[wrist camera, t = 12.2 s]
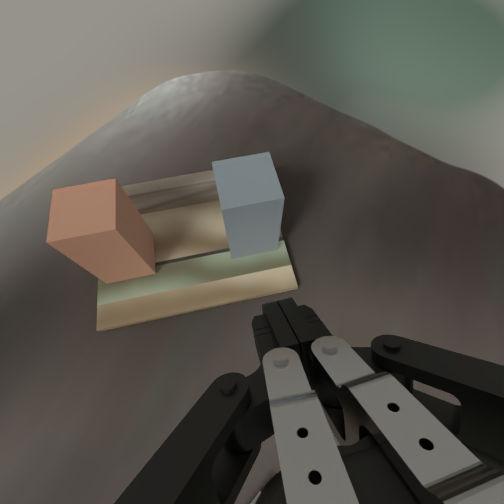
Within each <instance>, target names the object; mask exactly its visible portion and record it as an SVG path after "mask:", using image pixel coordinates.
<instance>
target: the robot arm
mask: <svg viewBox="0 0 504 504" xmlns="http://www.w3.org/2000/svg"><path fill="white" fill-rule="evenodd" d="M262 310H263V315H259V316H254V318H253V321H252V328H253V333H254V338H255V344H256V349H257V353H258V356H259V360H260V363H261V365H260V367H259V368H258V369H257V370H256V371H255V372H254V373H253V374H251V375H249V376H248V377H245V376H244V375H242V374H240V373H227V374H224V375H222V376H220V377H218V378H217V379H216V380H215V381H214V382H213V383H212V384H211V385H210V386H209V388H208V389H207V390H206V391H205V393H204V394H203V395H202V396H201V398H200V399H199V400H198V401H197V402H196V404H195V405H194V406H193V407H192V409H191V410H190V411H189V412H188V413H187V415H186V416H185V417H184V418H183V420H182V421H181V422H180V423H179V424H178V426H177V427H176V428H175V429H174V431H173V432H172V433H171V434H170V436H169V437H168V438H167V439H166V440H165V442H164V443H163V444H162V445H161V447H160V448H159V449H158V450H157V451H156V453H155V454H154V455H153V456H152V458H151V459H150V460H149V461H148V463H147V464H146V465H145V466H144V467H143V469H142V470H141V471H140V472H139V474H138V475H137V476H136V477H135V478H134V480H133V481H132V482H131V483H130V485H129V486H128V487H127V488H126V490H125V491H124V492H123V493H122V494H121V496H120V497H119V498H118V499H117V501H116V502H115V503H114V504H234V503H235V501H236V499H237V497H238V494H239V492H240V490H241V488H242V486H243V484H244V482H245V480H246V478H247V476H248V474H249V472H250V470H251V468H252V466H253V464H254V462H255V460H256V458H257V456H258V454H259V451H260V448H261V443H262V442H263V441H265V440H266V439H267V438H269V437H270V436H272V435H273V434H275V439H276V444H277V450H278V456H279V462H280V468H281V471H280V472H279V473H277V474H276V475H275V476H274V477H273V478H272V479H271V480H270V481H269V482H268V483H267V484H266V486H265V487H264V489H263V490H262V492H261V493H260V495H259V497H258V499H257V501H256V503H255V504H504V366H502V365H499V364H495V363H492V362H488V361H484V360H481V359H477V358H474V357H470V356H467V355H463V354H460V353H456V352H452V351H449V350H445V349H442V348H438V347H435V346H431V345H428V344H424V343H421V342H417V341H413V340H410V339H406V338H403V337H399V336H395V335H381V336H378V337H376V338H374V339H373V340H372V342H371V347H350V346H349V345H348V344H347V343H346V342H345V341H344V340H342V339H340V338H338V337H334V336H332V334H331V333H330V332H329V330H328V329H327V328H326V326H325V325H324V324H323V322H322V321H321V320H320V318H319V317H318V316H317V315H316V313H315V312H314V311H313V309H311V308H309V307H308V306H306V305H301V306H297V305H296V303H295V302H294V300H293V299H292V298H287V299H283V300H278V301H274V302H270V303H266V304H262ZM413 380H415V381H418V382H421V383H423V384H426V385H429V386H432V387H434V388H437V389H440V390H442V391H445V392H448V393H450V394H452V395H454V396H455V397H456V398H457V399H458V400H459V401H460V403H461V405H462V406H458V405H454V404H451V403H448V402H446V401H443V400H441V399H438V398H436V397H433V396H430V395H428V394H425V393H423V392H420V391H418V390H415V389H413ZM312 390H315V392H316V393H315V392H314V393H312ZM328 424H329V425H328ZM329 426H330V427H329ZM330 428H331V429H332V431H333V433H334V435H335V436H336V438H337V440H338V441H339V443H340V445H341V446H337V445H336V443H335V440H334V437H333V435H332V432H331V430H330Z"/></svg>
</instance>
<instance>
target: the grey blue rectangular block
mask: <svg viewBox="0 0 504 504" xmlns="http://www.w3.org/2000/svg"><path fill="white" fill-rule="evenodd" d="M212 166H213V171H214V176H215V181H216V186H217V191H218V196H219V201H220V206H221V210H222V215H223V220H224V225H225V230H226V234H227V239H228V244H229V249H230V254H231V258H232V259H234V258H238V257H243V256H248V255H253V254H258V253H263V252H268V251H273V250H277V249H278V242H279V234H280V227H281V220H282V213H283V206H284V199H285V198H284V195H283V192H282V189H281V186H280V183H279V180H278V177H277V174H276V171H275V168H274V165H273V162H272V159H271V156H270V153H269V152H265V153H259V154H254V155H248V156H243V157H237V158H231V159H226V160H220V161H214V162H212Z"/></svg>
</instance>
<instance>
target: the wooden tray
mask: <svg viewBox="0 0 504 504" xmlns="http://www.w3.org/2000/svg"><path fill="white" fill-rule="evenodd" d="M121 187H122V188H123V190H124V191H125V193H126V194H127V196H128V197H129V199H130V200H131V202H132V203H133V204H134V206H135V207H136V209H137V210H138V212H139V213H140V215H141V216H142V218H143V219H144V221H145V222H146V223H147V225H148V226H149V228H150V229H151V231H152V232H153V239H154V254H155V269H156V274H152V275H148V276H143V277H138V278H133V279H128V280H123V281H118V282H113V283H108V284H106V283H105V282H103V281H102V280H100V279H99V278H98V293H97V330H96V331H99V332H101V331H106V330H110V329H115V328H119V327H124V326H129V325H133V324H138V323H142V322H147V321H152V320H156V319H161V318H165V317H170V316H175V315H179V314H184V313H188V312H193V311H198V310H202V309H207V308H211V307H216V306H221V305H225V304H230V303H234V302H239V301H244V300H248V299H253V298H257V297H262V296H267V295H271V294H276V293H280V292H285V291H290V290H294V289H297V288H298V285H297V282H296V279H295V275H294V272H293V269H292V266H291V262H290V259H289V256H288V252H287V249H286V246H285V242H284V239H283V236H282V233H281V230H280V234H279V242H278V249H277V250H273V251H268V252H263V253H258V254H253V255H248V256H243V257H238V258H234V259H232V258H231V254H230V249H229V244H228V239H227V234H226V230H225V225H224V220H223V215H222V210H221V206H220V201H219V196H218V191H217V186H216V181H215V176H214V171H213V170H209V171H203V172H197V173H192V174H186V175H181V176H175V177H170V178H164V179H158V180H153V181H147V182H142V183H136V184H130V185H125V186H121Z"/></svg>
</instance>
